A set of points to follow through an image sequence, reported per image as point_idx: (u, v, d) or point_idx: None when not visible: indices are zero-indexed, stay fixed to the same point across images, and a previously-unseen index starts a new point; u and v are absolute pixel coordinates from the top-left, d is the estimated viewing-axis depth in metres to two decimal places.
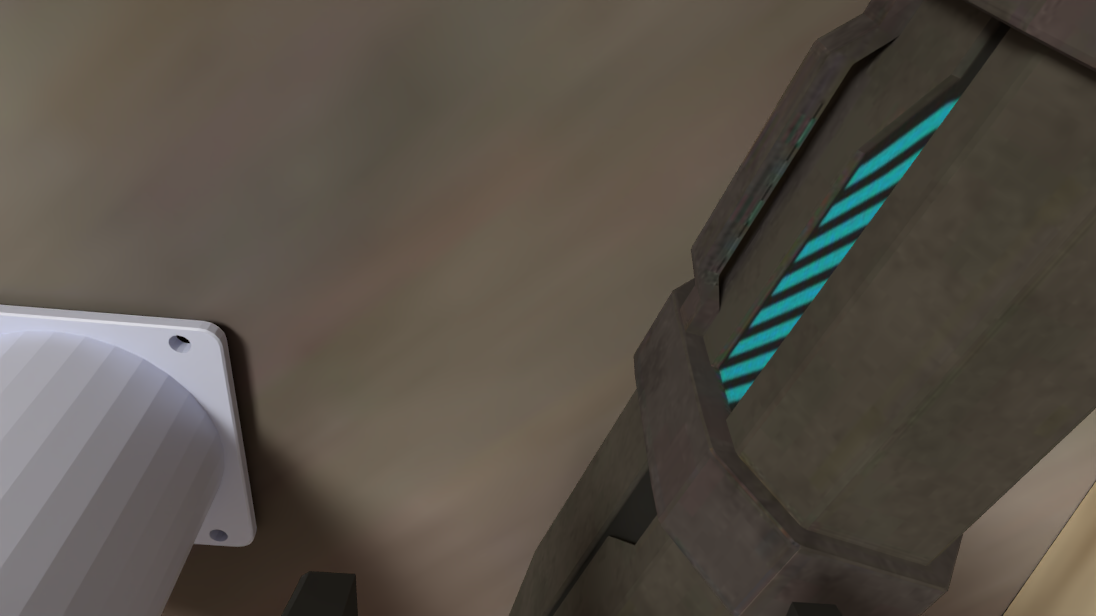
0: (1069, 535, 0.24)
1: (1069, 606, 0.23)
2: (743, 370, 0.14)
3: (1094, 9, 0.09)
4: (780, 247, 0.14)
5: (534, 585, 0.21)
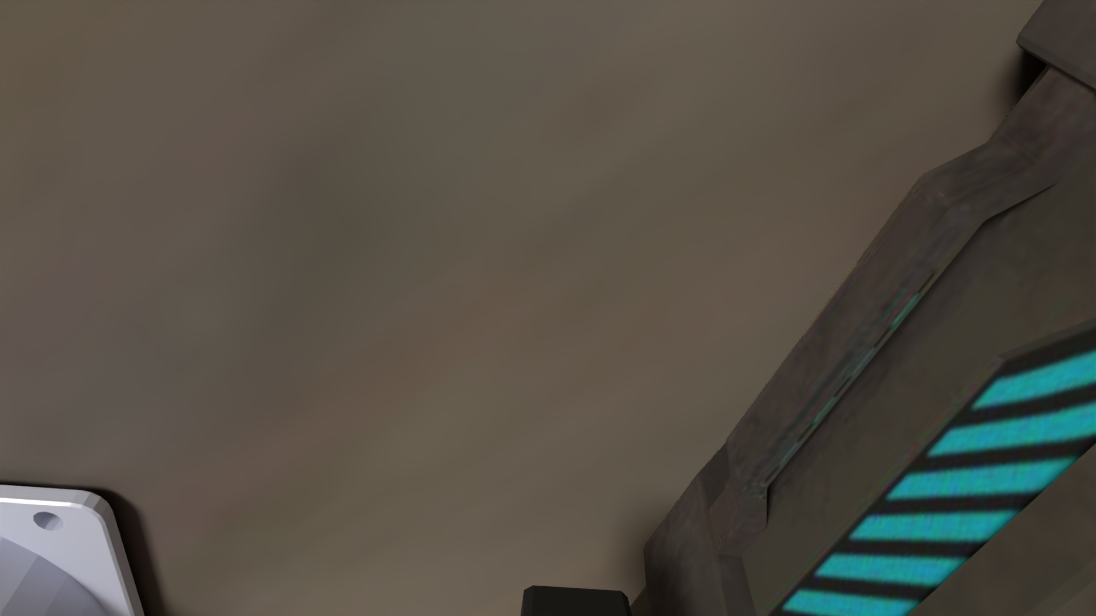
0: None
1: None
2: None
3: None
4: (862, 469, 0.10)
5: None
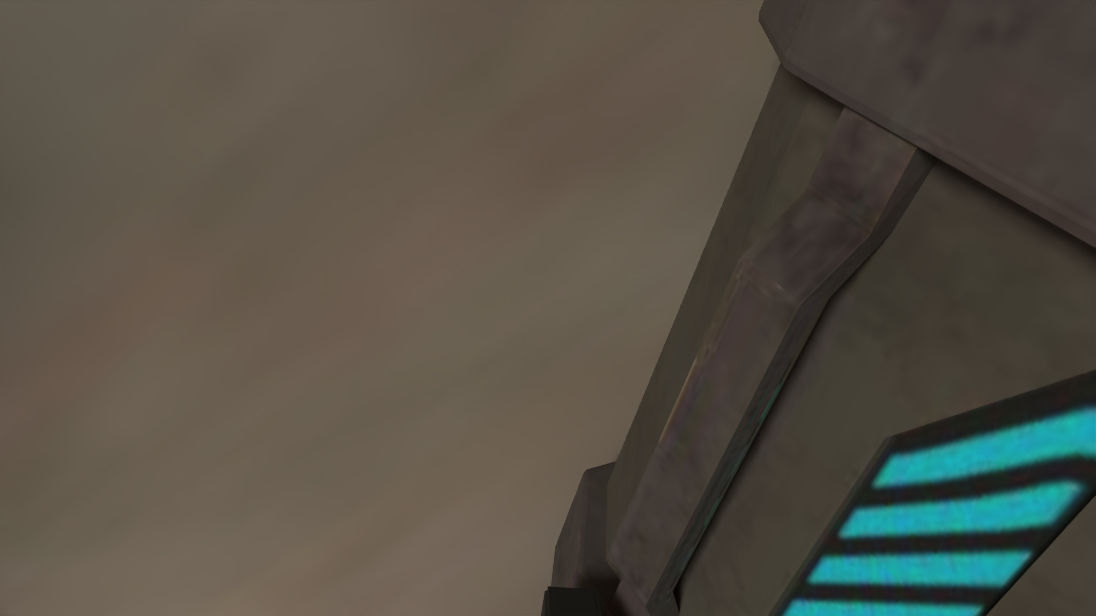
0: None
1: None
2: None
3: None
4: (770, 556, 0.09)
5: None
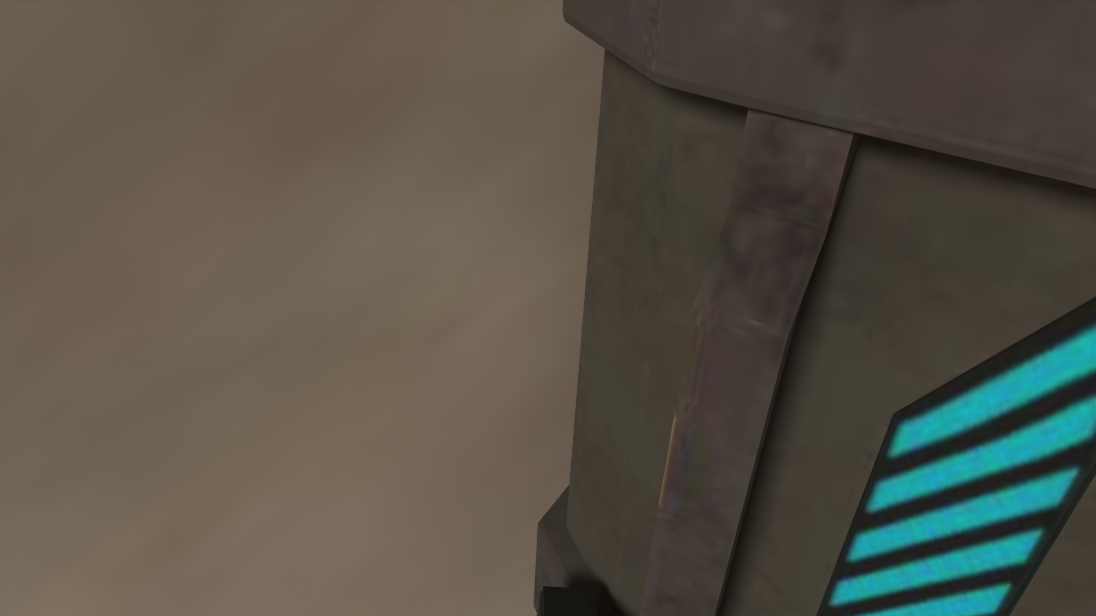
0: None
1: None
2: None
3: None
4: (802, 554, 0.09)
5: None
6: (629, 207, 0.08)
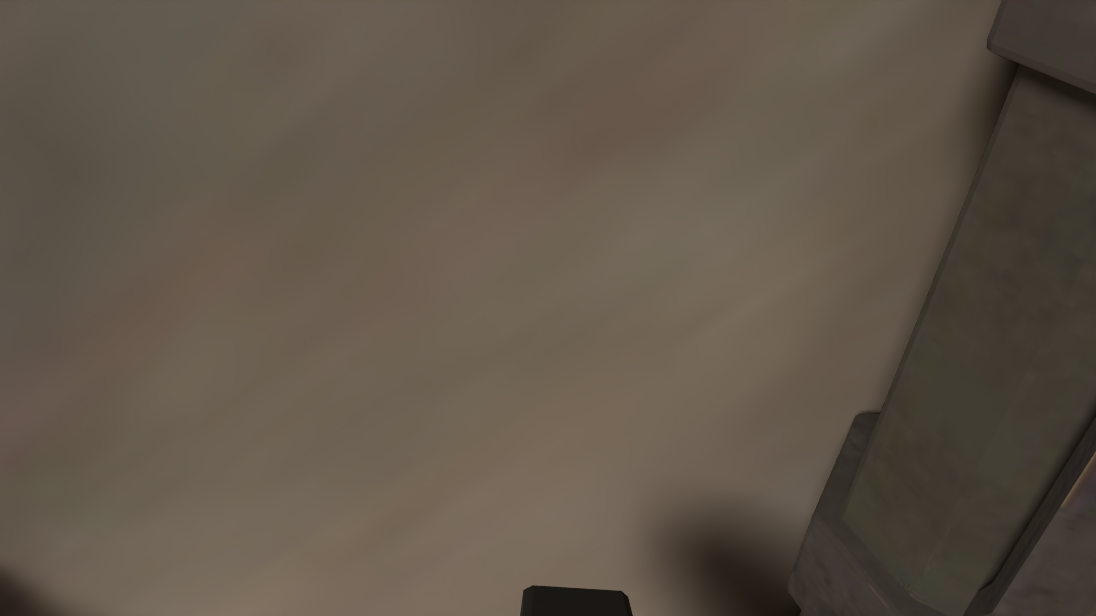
0: None
1: None
2: None
3: None
4: None
5: None
6: (1032, 226, 0.09)
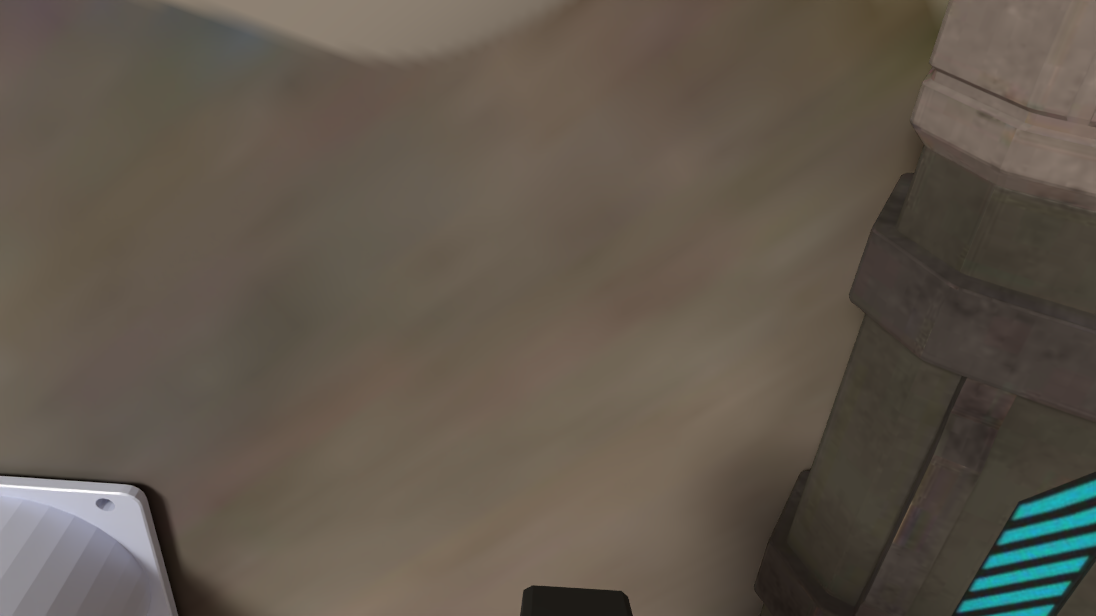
0: None
1: None
2: None
3: None
4: (959, 565, 0.16)
5: None
6: (877, 390, 0.16)
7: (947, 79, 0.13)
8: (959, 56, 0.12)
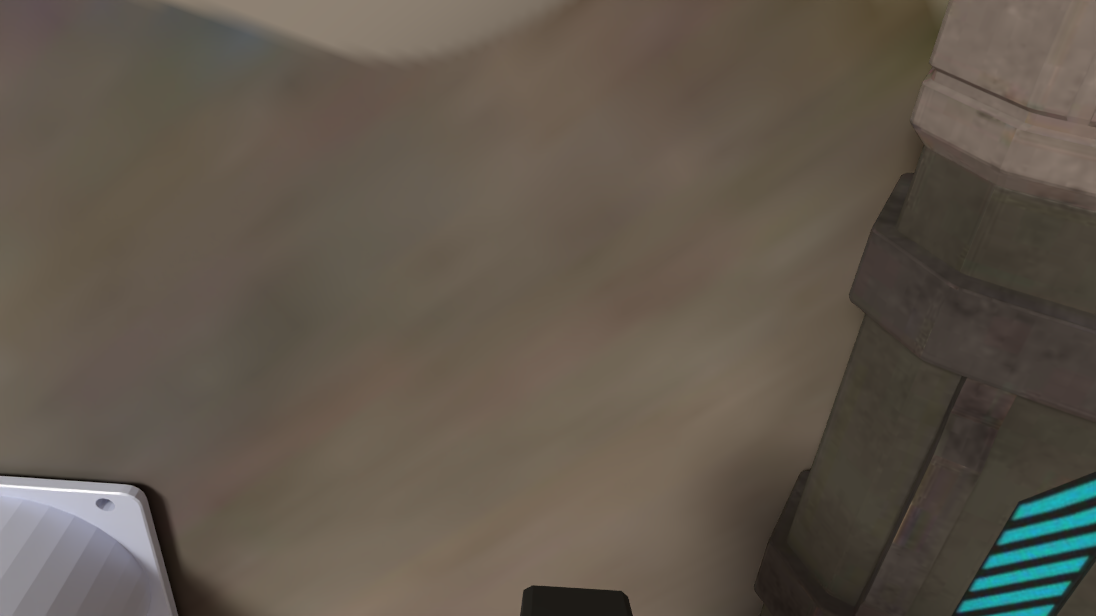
0: None
1: None
2: None
3: None
4: (959, 565, 0.16)
5: None
6: (877, 390, 0.16)
7: (947, 79, 0.13)
8: (959, 56, 0.12)
